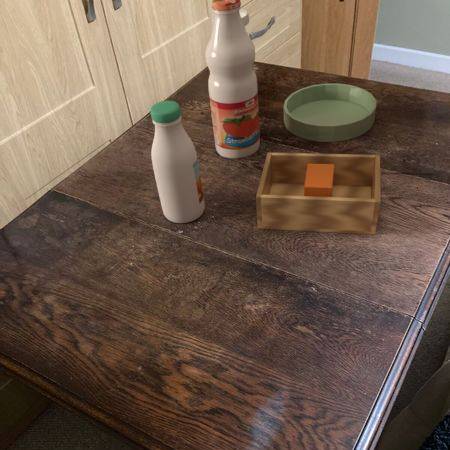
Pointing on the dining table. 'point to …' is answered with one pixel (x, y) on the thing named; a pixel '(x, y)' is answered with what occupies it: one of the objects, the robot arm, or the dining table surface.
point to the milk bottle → (175, 165)
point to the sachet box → (319, 180)
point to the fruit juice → (232, 83)
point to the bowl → (329, 112)
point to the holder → (320, 206)
